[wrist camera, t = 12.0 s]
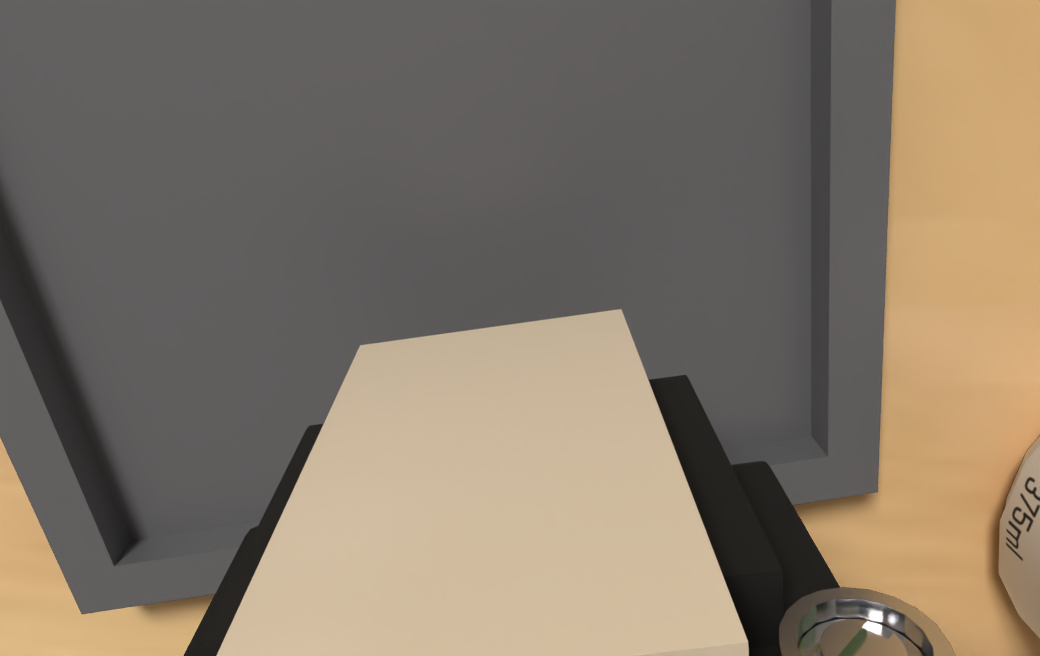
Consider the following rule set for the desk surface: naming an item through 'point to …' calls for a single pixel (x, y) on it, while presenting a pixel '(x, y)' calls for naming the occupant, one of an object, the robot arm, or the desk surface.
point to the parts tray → (417, 233)
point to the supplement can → (1023, 540)
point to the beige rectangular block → (492, 510)
